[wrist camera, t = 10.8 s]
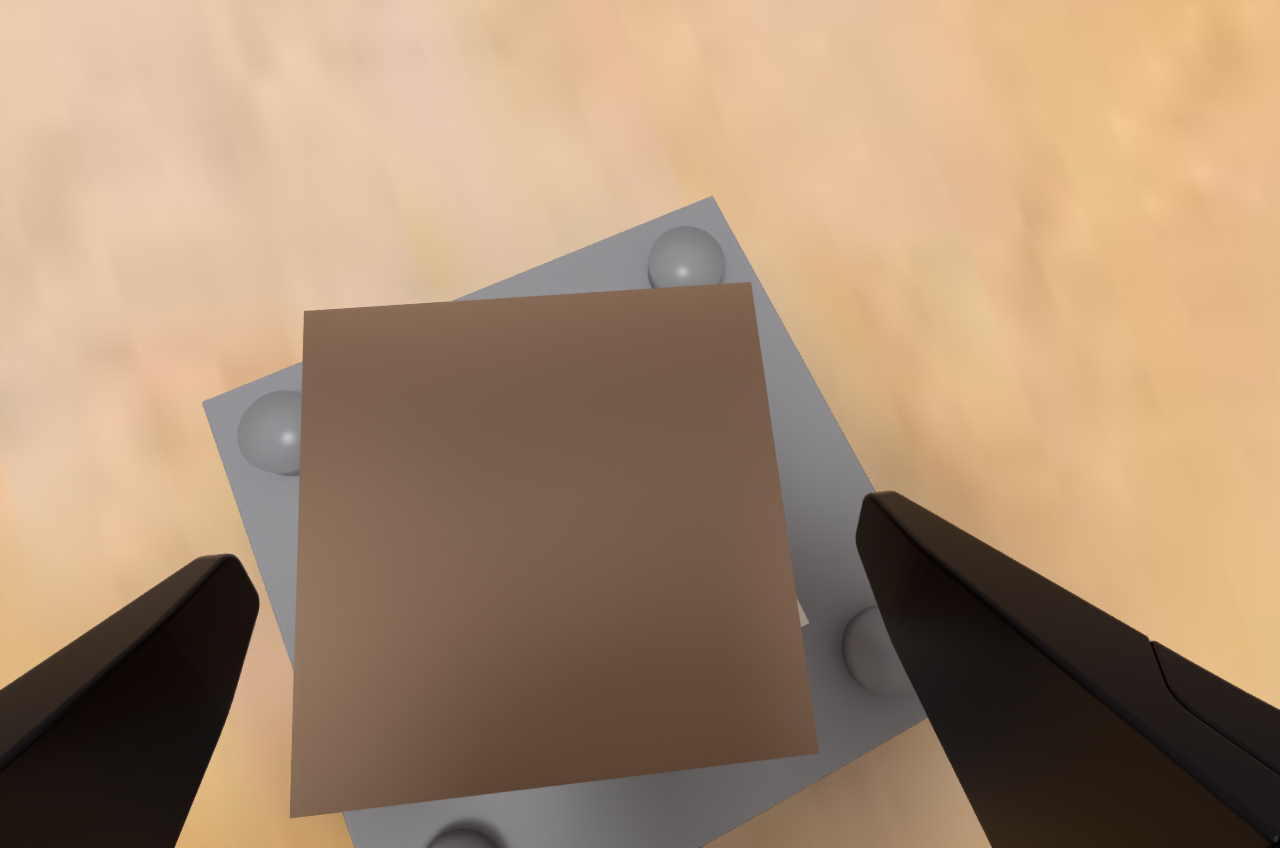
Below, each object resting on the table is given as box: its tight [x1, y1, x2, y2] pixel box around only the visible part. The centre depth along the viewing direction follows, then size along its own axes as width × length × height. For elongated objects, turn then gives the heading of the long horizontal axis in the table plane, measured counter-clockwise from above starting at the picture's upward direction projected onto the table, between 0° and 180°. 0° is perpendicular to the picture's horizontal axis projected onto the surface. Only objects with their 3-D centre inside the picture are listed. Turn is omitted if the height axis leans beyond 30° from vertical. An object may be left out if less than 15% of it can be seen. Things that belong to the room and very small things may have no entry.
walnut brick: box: [290, 282, 819, 818], centre depth 11 cm, size 5×5×10 cm
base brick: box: [202, 196, 928, 848], centre depth 17 cm, size 16×16×4 cm
